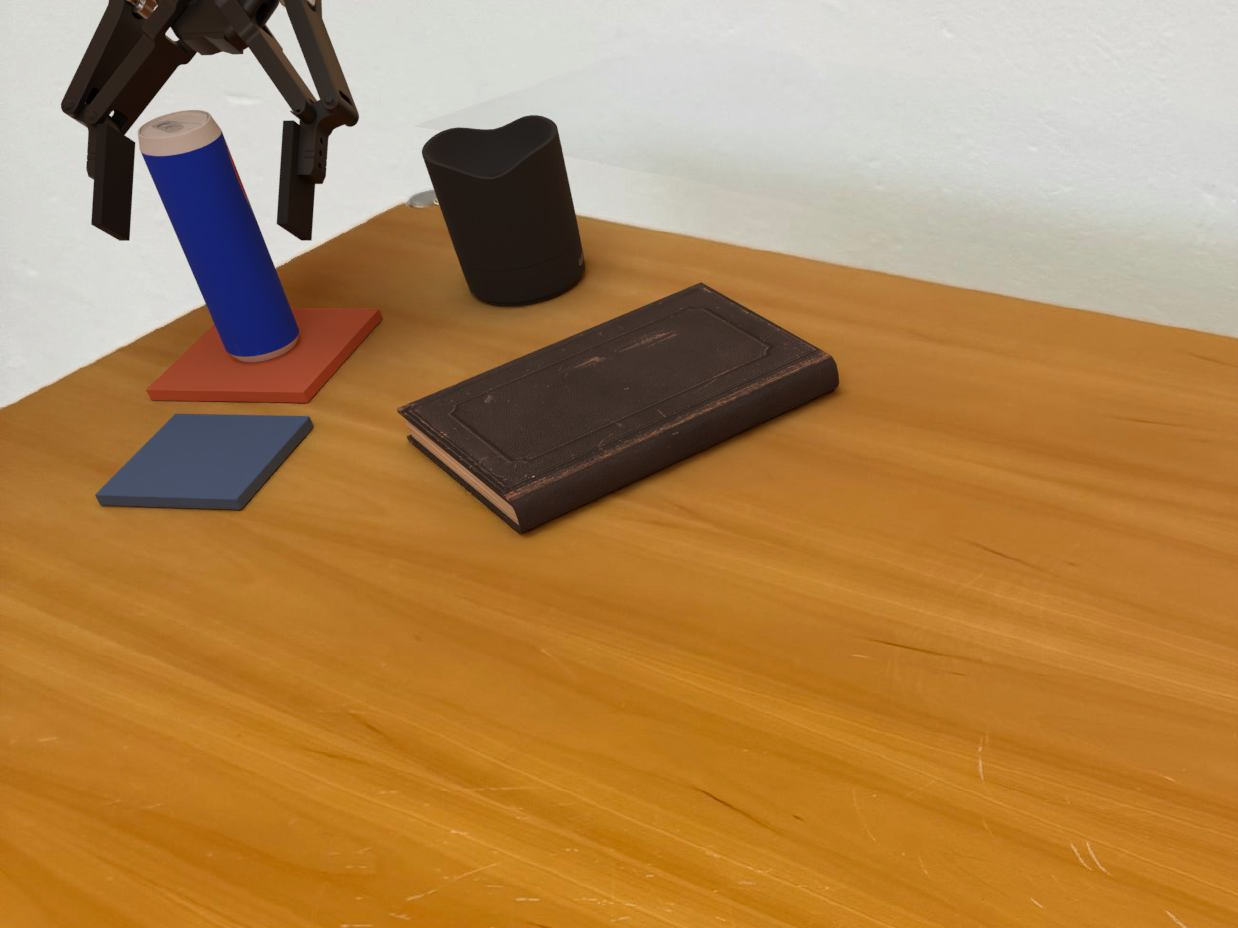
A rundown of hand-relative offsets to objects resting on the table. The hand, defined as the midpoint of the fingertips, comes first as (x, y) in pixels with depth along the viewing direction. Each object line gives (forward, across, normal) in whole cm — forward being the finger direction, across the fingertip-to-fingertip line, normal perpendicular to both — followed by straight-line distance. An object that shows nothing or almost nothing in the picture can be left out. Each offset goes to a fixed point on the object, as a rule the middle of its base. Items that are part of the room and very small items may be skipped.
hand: (201, 233), depth 106 cm
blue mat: (+16, -3, +2) cm, 16 cm away
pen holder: (-3, -15, -16) cm, 23 cm away
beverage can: (+5, 0, -8) cm, 9 cm away
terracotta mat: (+6, 0, -8) cm, 10 cm away
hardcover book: (+11, -29, -3) cm, 31 cm away
